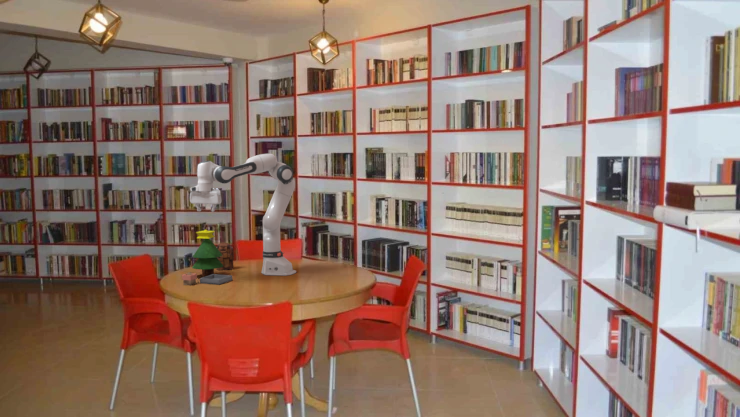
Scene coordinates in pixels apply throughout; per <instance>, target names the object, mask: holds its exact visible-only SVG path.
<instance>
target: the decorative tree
mask: <svg viewBox="0 0 740 417" xmlns="http://www.w3.org/2000/svg"><path fill="white" fill-rule="evenodd" d="M215 231H216V230H208V229H204V230H200V231H196V232H195V234H197V235H198V236H197V237H196V239H203V240H202V242H201V243H200V245H199V246H198V248H197V250H196V251H195V253H194V254H193V256H192V258H196V260H195V263H194V264H193V265H192V267H191V268H192V269H195V270H201V278H203V277H206V276H209V275H212V274H215V269H216V268H221V267H223V264H222V263H221V262H220V261H219V260H218V259H217V257H220V256H222V254H221V253H220V251H219V250H218V249H217V246H216V244H214V242H213V241H212V240H211V239H212V238H215V235H213V234H214V233H215ZM216 270H217V269H216Z"/></svg>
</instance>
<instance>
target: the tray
mask: <svg viewBox="0 0 740 417" xmlns="http://www.w3.org/2000/svg"><path fill="white" fill-rule="evenodd" d="M231 281H233V275H231V274H230V275H229V274H216V273H214V274H212V275H209V276H206V277H200V278H199V284H204V285H219V286H220V285H222V284H226V283H228V282H231Z"/></svg>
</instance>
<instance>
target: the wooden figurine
mask: <svg viewBox="0 0 740 417" xmlns="http://www.w3.org/2000/svg"><path fill="white" fill-rule="evenodd" d="M216 247H217V249H218V250H219V251H220V253H221V254H222V256H220V257H217V259H218V260H219V261H220V262H221V263H222V264H223V267H221V268H216V270H217V271H229V270H231V271H232V270H234V259H235V258H234V253H235V252H234V247H233V246H231V245H230V244H229V243H227V242H221V243H219V244H217V246H216Z"/></svg>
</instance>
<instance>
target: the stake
mask: <svg viewBox="0 0 740 417" xmlns="http://www.w3.org/2000/svg"><path fill="white" fill-rule="evenodd" d="M191 273H192V272H191V271H189V272H187V273H186V274H187V275H192V274H191ZM182 281H183V286H194V285H196V284H197V279H194V280H191V281H189V280H182ZM193 284H194V285H193Z"/></svg>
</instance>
